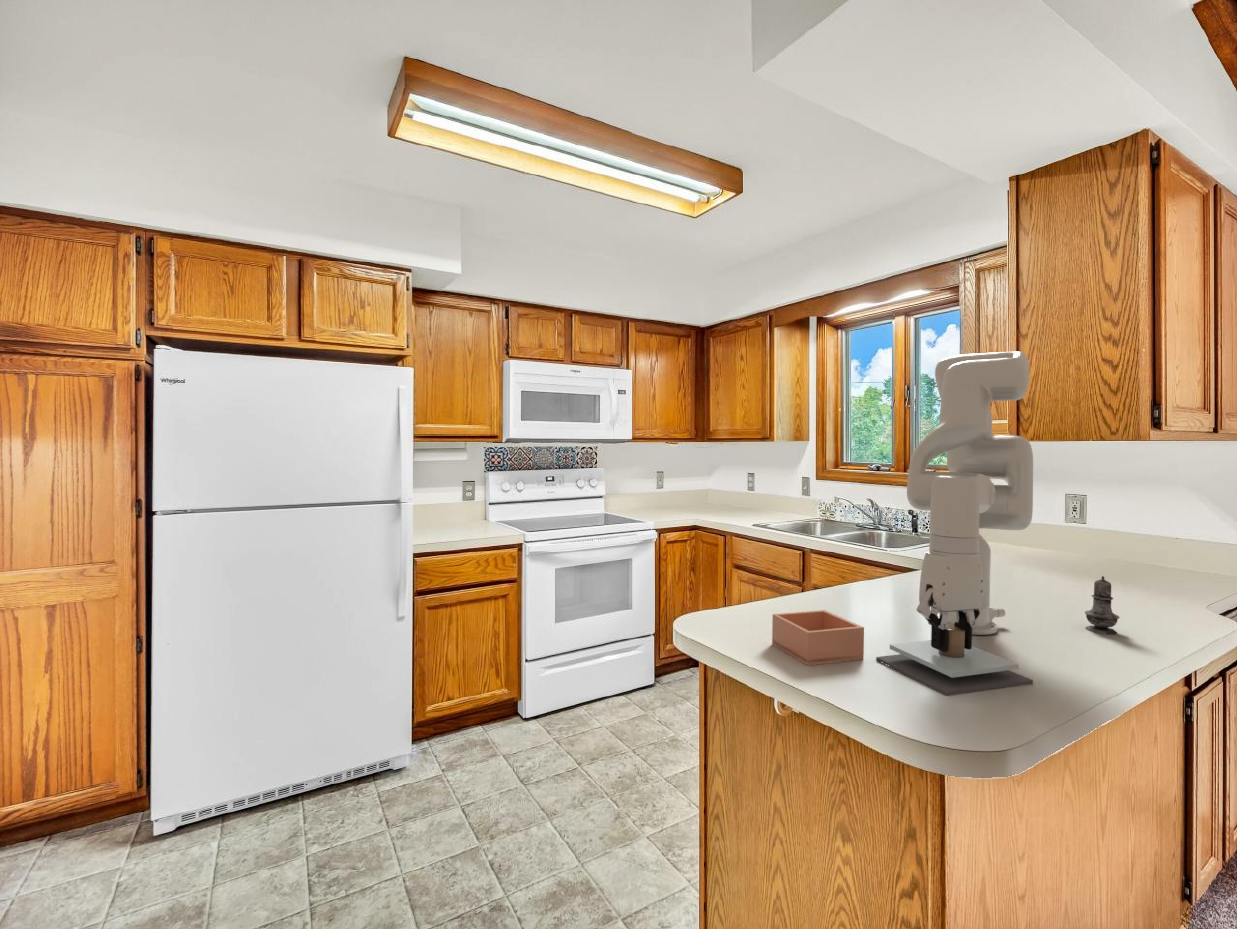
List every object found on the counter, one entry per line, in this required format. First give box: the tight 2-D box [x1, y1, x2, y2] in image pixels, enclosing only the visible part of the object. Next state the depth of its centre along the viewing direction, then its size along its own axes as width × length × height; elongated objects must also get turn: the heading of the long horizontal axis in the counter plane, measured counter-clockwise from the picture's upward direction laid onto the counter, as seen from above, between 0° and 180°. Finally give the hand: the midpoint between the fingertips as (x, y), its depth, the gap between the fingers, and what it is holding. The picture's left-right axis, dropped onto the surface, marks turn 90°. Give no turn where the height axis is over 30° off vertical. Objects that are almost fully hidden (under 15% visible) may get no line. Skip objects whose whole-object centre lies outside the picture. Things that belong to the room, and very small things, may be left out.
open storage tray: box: [771, 609, 865, 667], centre depth 113 cm, size 12×12×6 cm
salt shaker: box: [1084, 575, 1121, 635], centre depth 127 cm, size 6×6×12 cm
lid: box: [889, 626, 1020, 678], centre depth 103 cm, size 14×14×6 cm
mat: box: [875, 653, 1034, 696], centre depth 104 cm, size 18×16×1 cm
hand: (951, 647), depth 104 cm, fingers open, 4 cm apart
